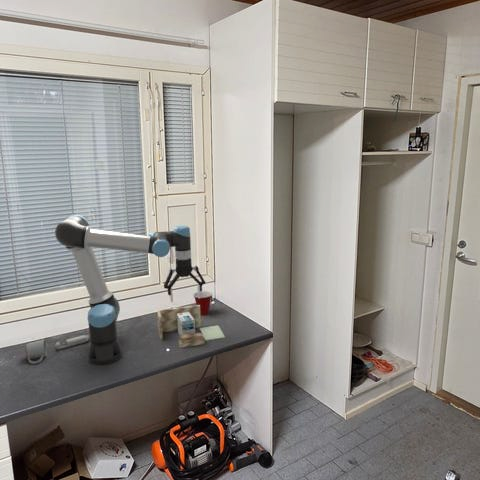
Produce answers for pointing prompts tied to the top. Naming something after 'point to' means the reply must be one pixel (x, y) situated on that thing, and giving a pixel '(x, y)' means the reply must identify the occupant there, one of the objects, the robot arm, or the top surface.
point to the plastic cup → (203, 301)
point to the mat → (212, 333)
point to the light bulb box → (185, 323)
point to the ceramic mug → (35, 351)
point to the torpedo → (73, 342)
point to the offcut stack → (191, 340)
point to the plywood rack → (169, 318)
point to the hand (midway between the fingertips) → (185, 299)
